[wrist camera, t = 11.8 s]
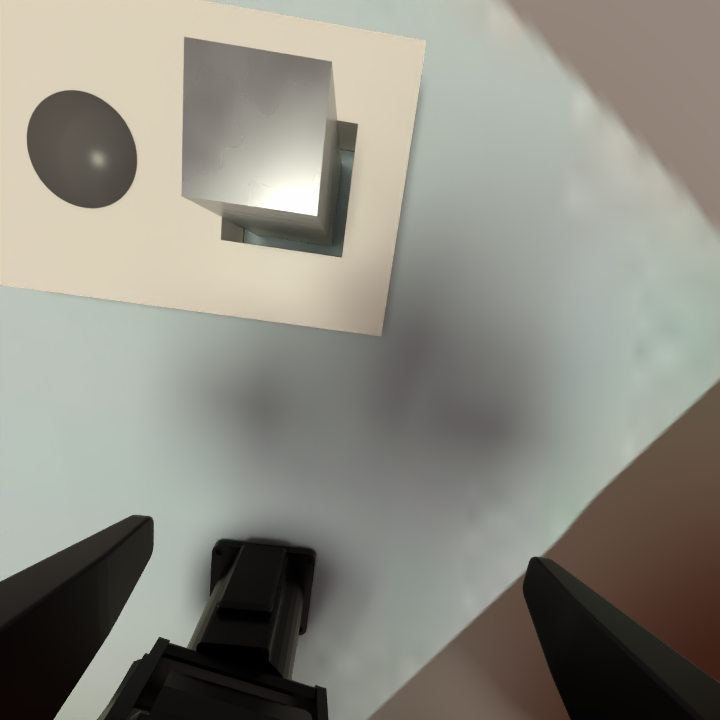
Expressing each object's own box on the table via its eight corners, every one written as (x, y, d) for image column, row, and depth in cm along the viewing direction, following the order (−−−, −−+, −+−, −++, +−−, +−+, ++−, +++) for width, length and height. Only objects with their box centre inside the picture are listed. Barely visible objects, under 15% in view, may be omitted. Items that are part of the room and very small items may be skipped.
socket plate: (376, 328, 19) (381, 336, 16) (44, 283, 18) (-18, 282, 15) (413, 84, 16) (427, 39, 13) (28, 17, 15) (-51, -47, 12)
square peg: (332, 246, 18) (317, 215, 10) (257, 235, 18) (181, 196, 10) (341, 164, 17) (331, 61, 9) (262, 151, 17) (184, 36, 9)
